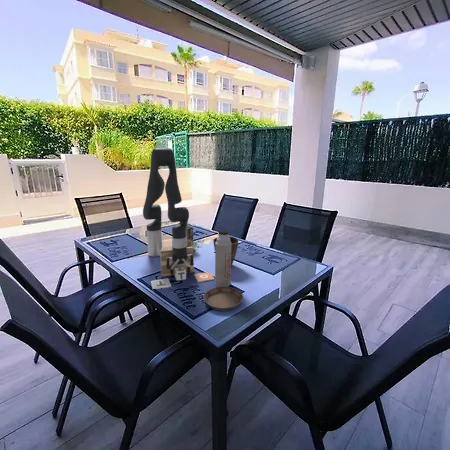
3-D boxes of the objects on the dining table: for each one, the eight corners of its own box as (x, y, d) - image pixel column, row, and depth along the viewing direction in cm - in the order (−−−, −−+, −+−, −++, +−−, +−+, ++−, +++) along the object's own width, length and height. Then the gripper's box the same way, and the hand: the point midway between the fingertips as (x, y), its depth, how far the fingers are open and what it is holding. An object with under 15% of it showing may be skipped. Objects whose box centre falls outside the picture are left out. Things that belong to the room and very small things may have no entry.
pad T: (150, 281, 134) (150, 280, 134) (168, 279, 138) (168, 278, 137) (152, 290, 126) (152, 288, 126) (171, 286, 130) (171, 285, 129)
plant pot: (229, 272, 147) (230, 246, 142) (208, 266, 154) (208, 241, 150) (242, 264, 159) (243, 239, 155) (221, 258, 166) (221, 234, 162)
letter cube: (174, 276, 141) (174, 267, 140) (183, 275, 143) (183, 266, 141) (176, 280, 136) (176, 271, 135) (186, 279, 138) (185, 270, 137)
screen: (160, 272, 145) (159, 249, 141) (192, 268, 151) (191, 245, 148) (162, 276, 140) (160, 252, 137) (194, 271, 147) (194, 248, 143)
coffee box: (186, 247, 186) (186, 225, 182) (193, 248, 183) (193, 226, 179) (177, 250, 179) (177, 228, 175) (184, 252, 176) (184, 229, 171)
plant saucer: (218, 318, 106) (218, 312, 105) (196, 299, 119) (196, 293, 119) (250, 305, 116) (251, 298, 115) (227, 288, 130) (227, 283, 129)
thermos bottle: (233, 284, 133) (235, 232, 126) (220, 288, 129) (221, 235, 121) (224, 278, 139) (225, 228, 132) (212, 282, 135) (212, 231, 128)
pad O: (193, 275, 143) (193, 274, 143) (209, 272, 146) (209, 271, 146) (198, 282, 135) (198, 281, 135) (214, 279, 138) (214, 278, 138)
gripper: (191, 241, 141) (191, 269, 145) (164, 244, 136) (165, 273, 140) (194, 246, 134) (195, 274, 138) (166, 249, 129) (168, 279, 133)
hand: (180, 274), depth 139 cm, fingers open, 8 cm apart
